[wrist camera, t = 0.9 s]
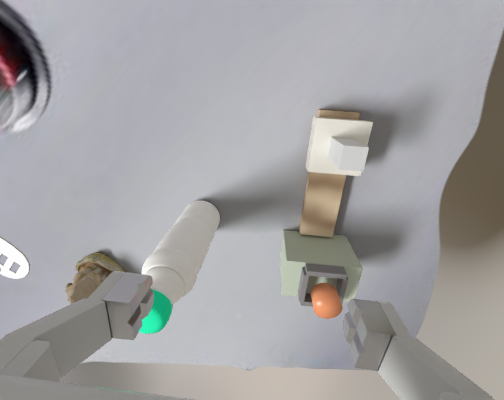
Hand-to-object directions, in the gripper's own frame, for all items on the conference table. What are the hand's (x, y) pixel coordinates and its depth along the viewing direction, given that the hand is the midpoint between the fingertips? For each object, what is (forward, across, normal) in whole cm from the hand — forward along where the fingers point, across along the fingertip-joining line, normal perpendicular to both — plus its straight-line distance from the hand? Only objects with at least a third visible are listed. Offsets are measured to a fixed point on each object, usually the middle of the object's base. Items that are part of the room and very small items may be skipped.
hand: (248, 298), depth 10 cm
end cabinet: (+36, -11, +19) cm, 42 cm away
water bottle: (+36, +11, +14) cm, 40 cm away
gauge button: (+23, -11, +19) cm, 32 cm away
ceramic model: (+36, +33, +33) cm, 59 cm away
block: (+35, -11, +4) cm, 37 cm away
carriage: (+33, -11, -2) cm, 35 cm away
